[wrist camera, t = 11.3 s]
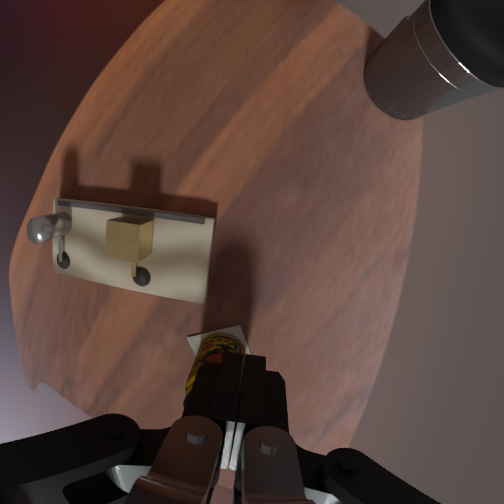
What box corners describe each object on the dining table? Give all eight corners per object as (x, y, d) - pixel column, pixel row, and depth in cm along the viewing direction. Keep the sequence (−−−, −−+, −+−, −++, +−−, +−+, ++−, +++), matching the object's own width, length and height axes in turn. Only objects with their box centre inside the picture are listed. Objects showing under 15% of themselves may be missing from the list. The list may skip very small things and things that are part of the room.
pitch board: (60, 198, 35) (52, 199, 33) (216, 217, 34) (213, 219, 33) (59, 268, 37) (52, 272, 35) (206, 299, 37) (203, 305, 35)
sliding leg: (122, 215, 33) (106, 220, 29) (153, 220, 33) (140, 225, 29) (120, 272, 35) (105, 283, 31) (149, 278, 35) (136, 290, 31)
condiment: (239, 323, 37) (229, 381, 26) (259, 376, 39) (257, 439, 27) (186, 336, 38) (159, 392, 26) (209, 386, 40) (193, 447, 28)
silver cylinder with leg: (55, 210, 33) (26, 216, 28) (72, 212, 33) (43, 219, 28) (55, 258, 35) (28, 270, 29) (71, 262, 35) (45, 275, 29)
